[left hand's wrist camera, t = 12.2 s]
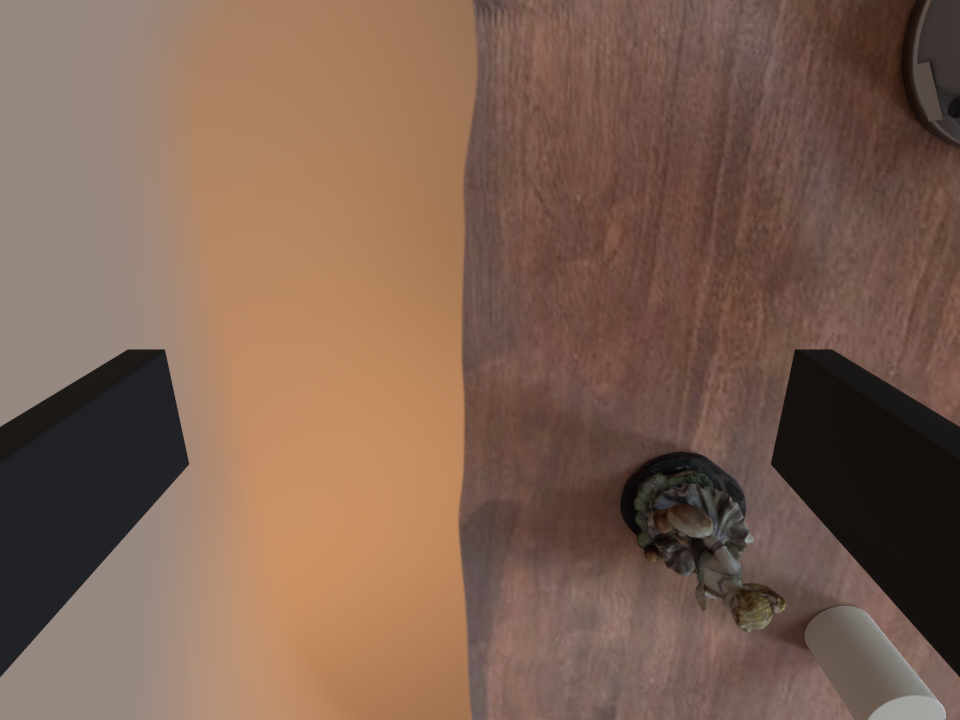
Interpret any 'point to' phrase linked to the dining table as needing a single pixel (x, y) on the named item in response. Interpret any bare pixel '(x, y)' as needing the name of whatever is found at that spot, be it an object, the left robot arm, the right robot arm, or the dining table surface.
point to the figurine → (698, 531)
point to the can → (868, 668)
